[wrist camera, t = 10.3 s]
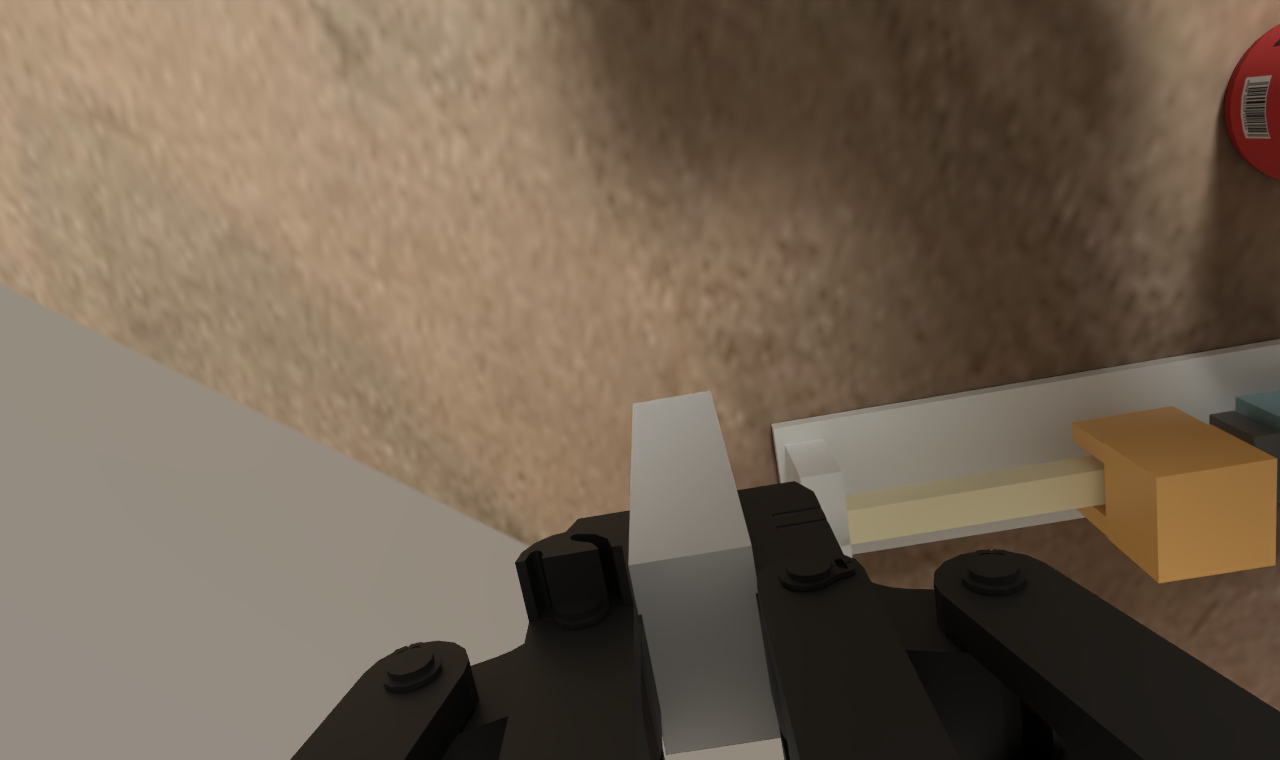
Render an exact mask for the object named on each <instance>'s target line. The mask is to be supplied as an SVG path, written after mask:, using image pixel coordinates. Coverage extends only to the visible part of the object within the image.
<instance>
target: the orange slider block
mask: <svg viewBox="0 0 1280 760" xmlns="http://www.w3.org/2000/svg"><path fill="white" fill-rule="evenodd" d="M1072 441H1073V442H1075V443H1076V444H1078V445H1079V446H1080V447H1082V448H1083V449H1084V450H1086V451H1087V452H1089V453H1090V454H1091V455H1093V456H1094V457H1095V458H1097V459H1098V460H1100V461H1101V462H1102V463H1104V477H1105V502H1106V504H1102V505H1095V506H1089V507H1083V508H1077V509H1076V510H1078V511H1079V512H1080V513H1081V514H1082V515H1083V516H1084V517H1086V518H1087V519H1088V520H1089V521H1090V522H1091V523H1092V524H1094V525H1095V526H1096V527H1097V528H1098V529H1099V530H1100V531H1102V532H1103V533H1104V534H1105V535H1106V536H1107V538H1108V539H1109V540H1110V541H1111V542H1112V543H1113V544H1114V545H1116V546H1117V547H1118V548H1119V549H1120V550H1121V551H1122V552H1123V553H1125V554H1126V555H1127V556H1128V557H1129V558H1130V559H1131V560H1133V561H1134V562H1135V563H1136V564H1137V565H1138V566H1139V567H1141V568H1142V569H1143V570H1144V571H1145V572H1146V573H1147V574H1149V575H1150V576H1151V577H1152V578H1153V579H1154V580H1155V581H1156V582H1158V583H1165V582H1171V581H1178V580H1184V579H1191V578H1197V577H1203V576H1210V575H1216V574H1223V573H1229V572H1236V571H1242V570H1248V569H1255V568H1261V567H1268V566H1274V565H1276V507H1277V458H1275V457H1273V456H1271V455H1269V454H1267V453H1265V452H1264V451H1262V450H1260V449H1258V448H1256V447H1254V446H1252V445H1250V444H1248V443H1246V442H1244V441H1242V440H1240V439H1238V438H1237V437H1235V436H1233V435H1231V434H1229V433H1227V432H1225V431H1223V430H1221V429H1219V428H1217V427H1215V426H1213V425H1211V424H1210V425H1208V424H1206V423H1204V422H1202V421H1200V420H1198V419H1196V418H1194V417H1192V416H1190V415H1189V414H1187V413H1185V412H1183V411H1181V410H1179V409H1177V408H1175V407H1173V406H1168V407H1162V408H1156V409H1150V410H1144V411H1138V412H1132V413H1126V414H1120V415H1114V416H1108V417H1102V418H1095V419H1089V420H1083V421H1077V422H1072Z"/></svg>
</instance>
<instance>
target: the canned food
mask: <svg viewBox="0 0 1280 760" xmlns="http://www.w3.org/2000/svg"><path fill="white" fill-rule="evenodd" d="M1225 120H1226V127H1227V131H1228V133H1229V136H1230V139H1231V142H1232V143H1233V145H1234V147H1235V148H1236V150H1237V151H1238V153H1239V154H1240V155H1241V156H1242V157H1243V158H1244V159H1245V160H1246V161H1247V162H1248V163H1249V164H1250V165H1252V166H1253V167H1255V168H1256V169H1258V170H1260V171H1261V172H1263V173H1264V174H1266V175H1268V176H1270V177H1272V178H1275V179H1278V180H1280V24H1279V25H1277V26H1276V27H1274V28H1273V29H1271V30H1270V31H1268V32H1267V33H1266V34H1264V35H1263V36H1262V37H1260V38H1259V39H1258V40H1257V41H1255V42H1254V44H1253V45H1252V46H1251V47H1250V48H1249V49H1248V50H1247V51H1246V52H1245V53H1244V55H1243V57H1242V58H1241V60H1240V61H1239V63H1238V64H1237V66H1236V67H1235V70H1234V72H1233V74H1232V77H1231V79H1230V81H1229V85H1228V89H1227V93H1226V98H1225Z"/></svg>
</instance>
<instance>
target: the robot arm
mask: <svg viewBox="0 0 1280 760" xmlns="http://www.w3.org/2000/svg"><path fill="white" fill-rule="evenodd" d="M515 564H516V569H517V573H518V577H519V581H520V585H521V590H522V593H523V598H524V602H525V606H526V611H527V614H528V619H529V626H528V630H527V634H526V639H525V643H524V644H523V645H521V646H519V647H518V648H516V649H514V650H512V651H510V652H508V653H505V654H503V655H500V656H498V657H495V658H493V659H490V660H487V661H484V662H481V663H478V664H475V665H472V666H470V662H469V659H468V656H467V653H466V650H465V649H464V648H463V647H461V646H459V645H457V644H456V643H453V642H444V641H432V642H426V643H422V642H420V643H415V644H411V645H410V646H409V647H407V646H405V647H402V648H400V649H397V650H395V651H394V652H393V653H392V654H390V655H388V656H386V657H384V658H383V659H381V660H379V661H378V662H377V663H375V664H374V665H373V666H372V667H371V668H370V669H368V670H367V671H366V672H365V673H364V674H363V675H362V676H361V678H360V679H359V680H358V681H357V682H356V683H355V685H354V686H353V687H352V688H351V689H350V691H349V692H348V693H347V694H346V695H345V696H344V697H343V699H342V700H341V701H340V702H339V703H338V704H337V706H336V707H335V708H334V709H333V710H332V712H331V713H330V714H329V715H328V716H327V718H326V719H325V720H324V721H323V722H322V723H321V724H320V726H319V727H318V728H317V729H316V730H315V732H314V733H313V734H312V735H311V736H310V737H309V738H308V740H307V741H306V742H305V743H304V744H303V746H302V747H301V748H300V749H299V750H298V752H297V753H296V754H295V755H294V756H293V757H292V758H291V760H665V758H664V754H663V749H662V736H663V741H664V746H665V751H666V755H668V754H675V753H682V752H689V751H695V750H701V749H708V748H715V747H721V746H728V745H735V744H742V743H749V742H755V741H761V740H769V739H775V738H781V741H782V747H783V753H784V760H1280V712H1279V711H1278V710H1276V709H1275V708H1273V707H1271V706H1270V705H1268V704H1267V703H1265V702H1263V701H1262V700H1260V699H1259V698H1257V697H1256V696H1254V695H1252V694H1251V693H1249V692H1248V691H1246V690H1245V689H1243V688H1241V687H1240V686H1238V685H1237V684H1235V683H1233V682H1232V681H1230V680H1229V679H1227V678H1226V677H1224V676H1222V675H1221V674H1219V673H1218V672H1216V671H1215V670H1213V669H1211V668H1210V667H1208V666H1207V665H1205V664H1203V663H1202V662H1200V661H1199V660H1197V659H1196V658H1194V657H1192V656H1191V655H1189V654H1188V653H1186V652H1185V651H1183V650H1181V649H1180V648H1178V647H1177V646H1175V645H1174V644H1172V643H1170V642H1169V641H1167V640H1166V639H1164V638H1162V637H1161V636H1159V635H1158V634H1156V633H1155V632H1153V631H1151V630H1150V629H1148V628H1147V627H1145V626H1144V625H1142V624H1140V623H1139V622H1137V621H1136V620H1134V619H1132V618H1131V617H1129V616H1128V615H1126V614H1125V613H1123V612H1121V611H1120V610H1118V609H1117V608H1115V607H1114V606H1112V605H1110V604H1109V603H1107V602H1106V601H1104V600H1102V599H1101V598H1099V597H1098V596H1096V595H1095V594H1093V593H1091V592H1090V591H1088V590H1087V589H1085V588H1084V587H1082V586H1080V585H1079V584H1077V583H1076V582H1074V581H1072V580H1071V579H1069V578H1068V577H1066V576H1065V575H1063V574H1061V573H1060V572H1058V571H1057V570H1055V569H1054V568H1052V567H1050V566H1049V565H1047V564H1046V563H1044V562H1041V561H1039V560H1037V559H1035V558H1032V557H1030V556H1028V555H1023V554H1018V553H1013V552H1008V551H1006V550H993V551H990V550H979V551H976V552H973V553H967V554H961V555H959V556H957V557H954V558H952V559H950V560H947V561H945V562H944V563H943V564H942V565H941V566H940V567H939V568H938V569H937V570H936V571H935V574H934V590H930V589H903V588H892V587H887V586H883V585H878V584H875V583H873V582H871V581H870V579H869V577H868V575H867V573H866V571H865V569H864V568H863V567H862V565H861V564H860V563H859V562H858V561H857V560H856V559H854V558H851V557H849V556H846V555H844V554H843V552H842V549H841V547H840V545H839V543H838V541H837V539H836V537H835V535H834V533H833V531H832V529H831V526H830V524H829V522H828V521H827V518H826V516H825V514H824V512H823V510H822V509H821V505H820V503H819V501H818V499H817V497H816V495H815V493H814V491H812V490H810V489H808V488H807V487H805V486H803V485H801V484H799V483H798V482H796V481H792V482H786V483H780V484H774V485H767V486H761V487H755V488H749V489H743V490H737V489H736V485H735V481H734V478H733V474H732V470H731V466H730V463H729V459H728V455H727V451H726V447H725V444H724V440H723V436H722V432H721V429H720V425H719V421H718V417H717V414H716V410H715V406H714V402H713V399H712V395H711V391H705V392H699V393H693V394H687V395H681V396H675V397H669V398H664V399H658V400H652V401H646V402H640V403H634V404H633V418H632V454H631V489H630V511H624V512H618V513H611V514H605V515H599V516H593V517H587V518H581V519H578V520H577V521H576V522H575V523H574V524H573V525H572V526H571V527H570V528H569V529H568V530H567V531H566V532H564V533H560V534H556V535H552V536H550V537H548V538H545V539H543V540H541V541H539V542H536V543H534V544H533V545H532V546H530V547H529V548H527V549H526V550H525V551H523V552H522V553H521V555H520V556H519V558H518V559H517V561H516V562H515Z"/></svg>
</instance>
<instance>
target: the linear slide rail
mask: <svg viewBox="0 0 1280 760" xmlns="http://www.w3.org/2000/svg"><path fill="white" fill-rule="evenodd" d="M1168 406H1173V407H1175V408H1177V409H1179V410H1181V411H1183V412H1185V413H1187V414H1189V415H1190V416H1192V417H1194V418H1196V419H1198V420H1200V421H1202V422H1204V423H1206V424H1208V425H1210V424H1211V425H1213V426H1215V427H1217V428H1219V429H1221V430H1223V431H1225V432H1227V433H1229V434H1231V435H1233V436H1235V437H1237V438H1238V439H1240V440H1242V441H1244V442H1246V443H1248V444H1250V445H1252V446H1254V447H1256V448H1258V449H1260V450H1262V451H1264V452H1265V453H1267V454H1269V455H1271V456H1273V457H1275V458H1277V502H1279V503H1280V339H1276V340H1270V341H1264V342H1258V343H1253V344H1247V345H1241V346H1235V347H1229V348H1223V349H1217V350H1211V351H1205V352H1199V353H1193V354H1187V355H1181V356H1175V357H1169V358H1163V359H1157V360H1151V361H1145V362H1139V363H1133V364H1127V365H1121V366H1115V367H1109V368H1103V369H1097V370H1091V371H1085V372H1079V373H1073V374H1067V375H1061V376H1055V377H1049V378H1043V379H1037V380H1031V381H1025V382H1019V383H1013V384H1007V385H1001V386H995V387H989V388H983V389H977V390H972V391H966V392H960V393H954V394H948V395H942V396H936V397H930V398H924V399H918V400H912V401H906V402H900V403H894V404H888V405H882V406H876V407H870V408H864V409H858V410H852V411H846V412H840V413H834V414H828V415H822V416H816V417H810V418H804V419H798V420H792V421H786V422H780V423H774V424H771V427H772V434H773V440H774V447H775V454H776V461H777V468H778V475H779V482H780V483H786V482H792V481H796V482H798V483H799V484H801V485H803V486H805V487H807V488H808V489H810V490H812V491H814V493H815V495H816V497H817V499H818V501H819V503H820V505H821V509H822V510H823V512H824V514H825V516H826V518H827V521H828V522H829V524H830V526H831V529H832V531H833V533H834V535H835V537H836V539H837V541H838V543H839V545H840V547H841V549H842V552H843V554H844V555H846V556H849V557H851V558H853V557H852V555H853V554H860V553H866V552H872V551H878V550H885V549H891V548H897V547H904V546H910V545H916V544H922V543H929V542H935V541H941V540H947V539H954V538H960V537H966V536H973V535H979V534H985V533H991V532H998V531H1004V530H1010V529H1016V528H1023V527H1029V526H1035V525H1042V524H1048V523H1054V522H1060V521H1067V520H1073V519H1079V518H1085V517H1084V516H1083V515H1082V514H1081V513H1080V512H1079V511H1078V510H1076V509H1077V508H1083V507H1089V506H1095V505H1102V504H1106V502H1105V477H1104V463H1102V462H1101V461H1100V460H1098V459H1097V458H1095V457H1094V456H1093V455H1091V454H1090V453H1089V452H1087V451H1086V450H1084V449H1083V448H1082V447H1080V446H1079V445H1078V444H1076V443H1075V442H1073V441H1072V422H1077V421H1083V420H1089V419H1095V418H1102V417H1108V416H1114V415H1120V414H1126V413H1132V412H1138V411H1144V410H1150V409H1156V408H1162V407H1168Z"/></svg>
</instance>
